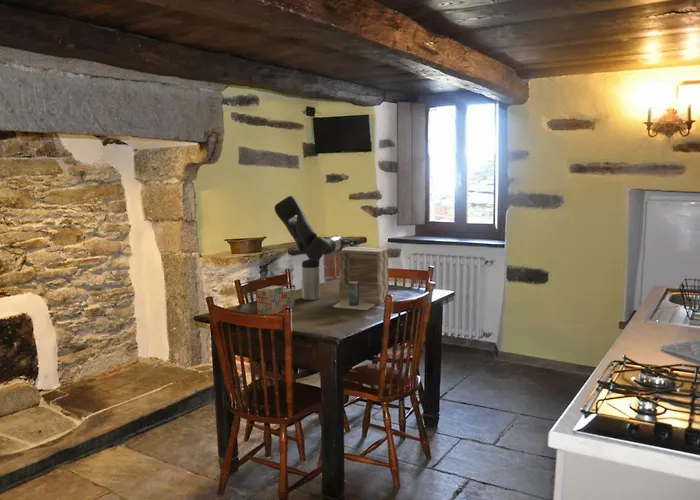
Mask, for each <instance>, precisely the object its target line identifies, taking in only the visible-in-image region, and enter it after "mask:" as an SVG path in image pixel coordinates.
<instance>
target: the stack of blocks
mask: <svg viewBox="0 0 700 500" xmlns="http://www.w3.org/2000/svg"><path fill="white" fill-rule="evenodd" d="M256 306H257V307H256V309H257V310H256V312H257V313H258V314H272V315H275V314H279V313H281V312H283V311H282V310H284V309H285V308H290V309H293V308H295V289H294V288H286V287H285V288H284V287H283V286H282V285H270V286H266V287H263V288H259V289H256ZM280 311H281V312H280ZM284 311H285V310H284ZM278 312H279V313H278ZM257 313H256V314H257ZM274 313H275V314H274ZM258 314H257V315H258Z"/></svg>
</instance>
